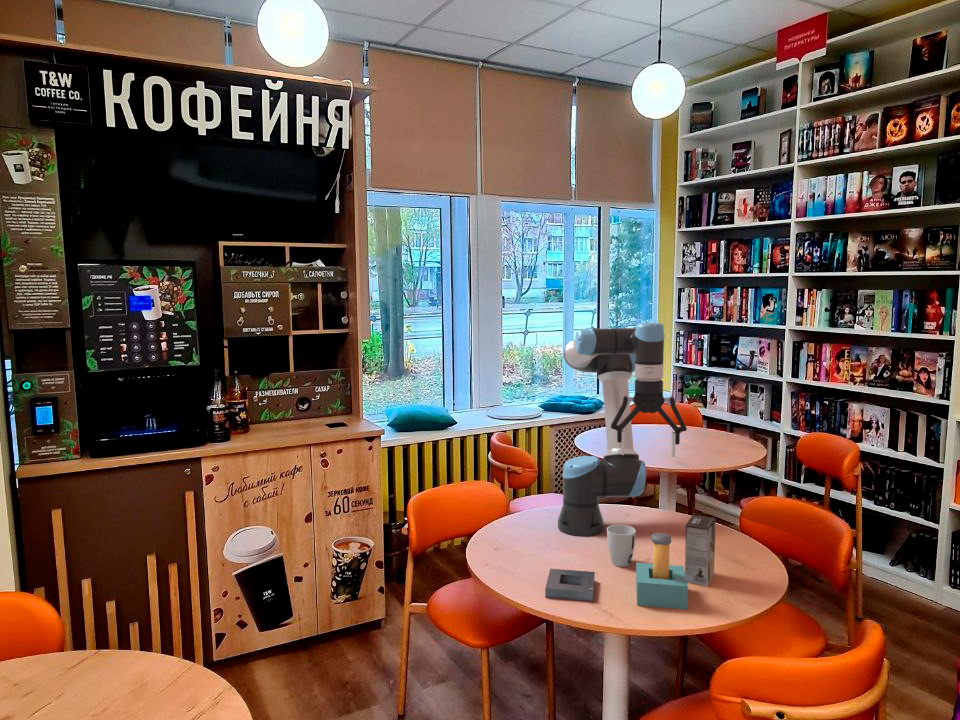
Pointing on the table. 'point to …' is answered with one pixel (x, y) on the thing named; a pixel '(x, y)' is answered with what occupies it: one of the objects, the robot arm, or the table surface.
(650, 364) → the robot arm
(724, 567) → the table surface
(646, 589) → the socket
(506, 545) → the table surface
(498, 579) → the table surface
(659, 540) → the pin
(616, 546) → the cup
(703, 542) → the coffee box
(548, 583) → the mount
